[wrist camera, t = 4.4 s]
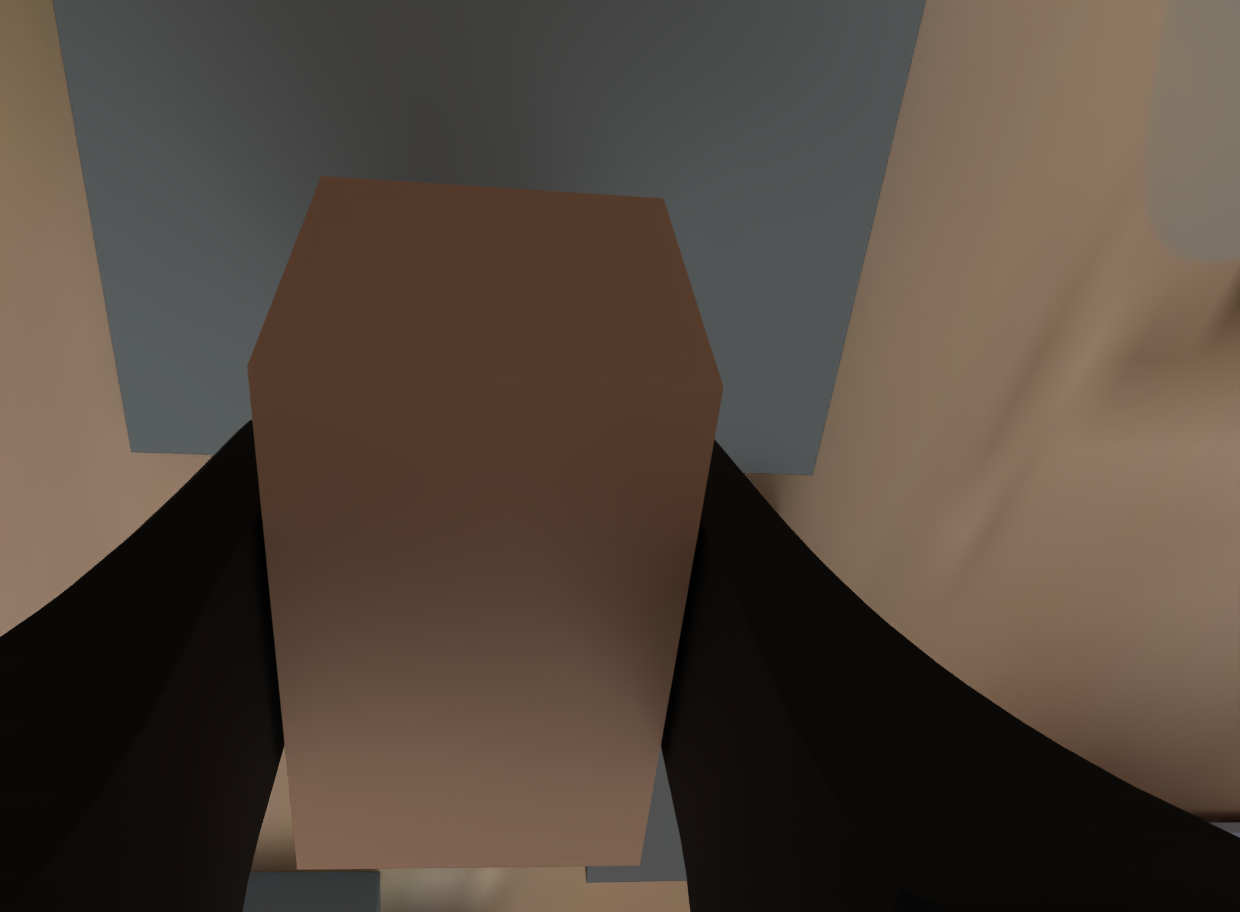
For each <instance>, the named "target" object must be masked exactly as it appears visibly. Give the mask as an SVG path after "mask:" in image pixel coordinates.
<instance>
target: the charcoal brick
mask: <svg viewBox="0 0 1240 912" xmlns="http://www.w3.org/2000/svg"><path fill="white" fill-rule="evenodd" d="M585 871H586V883H596V882H644V881H687V876H686V870H685V864H684V857H683V851H682V845H681V839H680V834H679V829H678V825H677V820H676V815H675V810H674V806H673V801H672V796H671V792H670V787H669V782H668V777H667V773H666V768H665V763H664V759H663V754H662V749H661V747H660V752H659V758H658V764H657V769H656V775H655V781H654V787H653V792H652V798H651V804H650V809H649V815H648V821H647V826H646V832H645V838H644V844H643V849H642V855H641V861H640V866H585Z"/></svg>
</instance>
